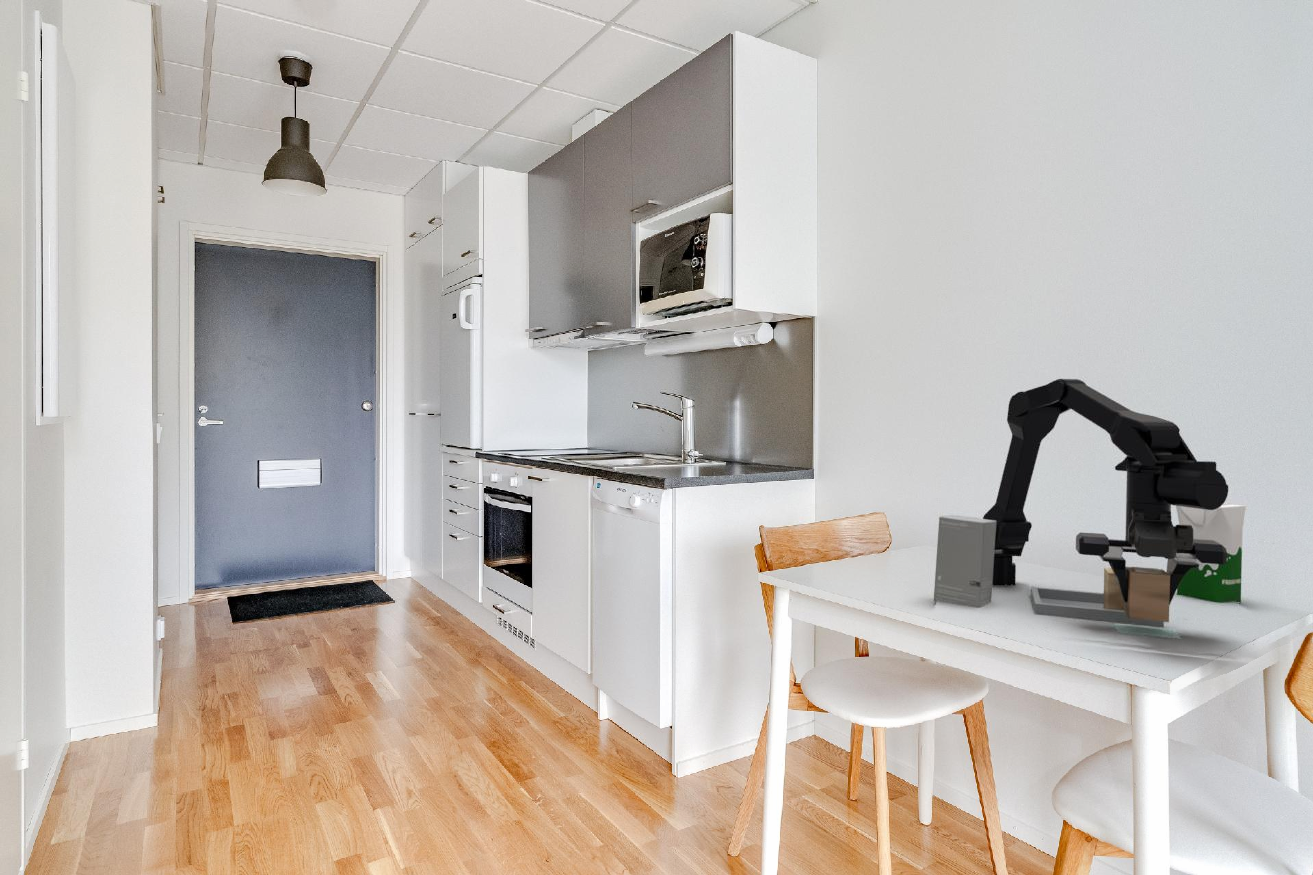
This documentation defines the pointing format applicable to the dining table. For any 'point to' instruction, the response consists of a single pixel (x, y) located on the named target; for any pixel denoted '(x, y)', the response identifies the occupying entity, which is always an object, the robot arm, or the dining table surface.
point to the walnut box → (1147, 594)
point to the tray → (1079, 606)
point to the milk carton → (1225, 530)
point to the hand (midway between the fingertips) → (1146, 603)
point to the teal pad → (1146, 631)
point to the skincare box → (965, 560)
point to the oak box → (1112, 592)
